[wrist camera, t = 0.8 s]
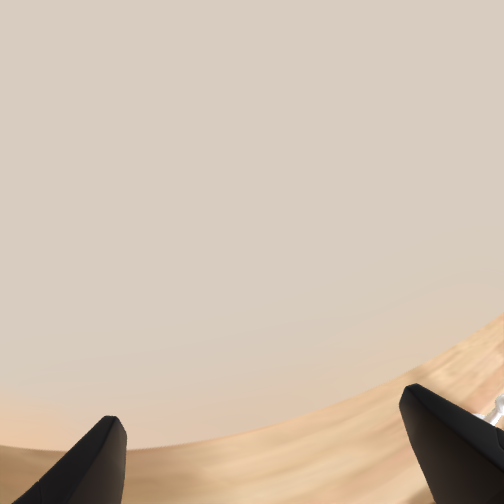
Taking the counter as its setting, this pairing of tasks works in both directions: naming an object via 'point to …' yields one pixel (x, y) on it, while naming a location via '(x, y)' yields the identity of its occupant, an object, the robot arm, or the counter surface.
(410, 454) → the counter surface
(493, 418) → the chess piece
